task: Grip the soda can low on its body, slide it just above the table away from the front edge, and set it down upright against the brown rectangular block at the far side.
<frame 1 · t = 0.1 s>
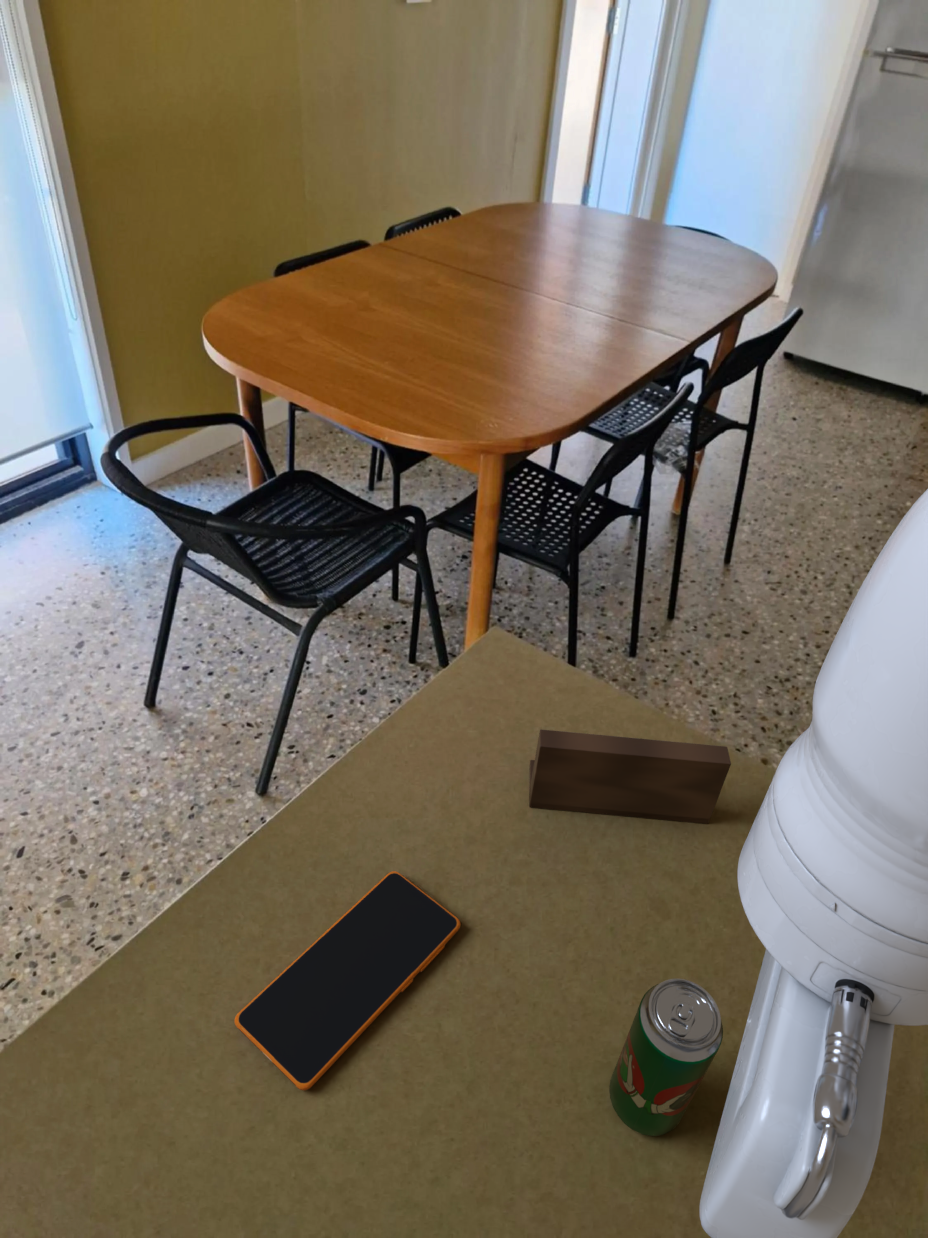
hand: (764, 1062, 40), 23 cm above the counter, tool pointing down, fingers open, 8 cm apart
soda can: (644, 1100, 60), on the counter
brown rectangular block: (617, 807, 80), on the counter
smartphone: (353, 975, 66), on the counter
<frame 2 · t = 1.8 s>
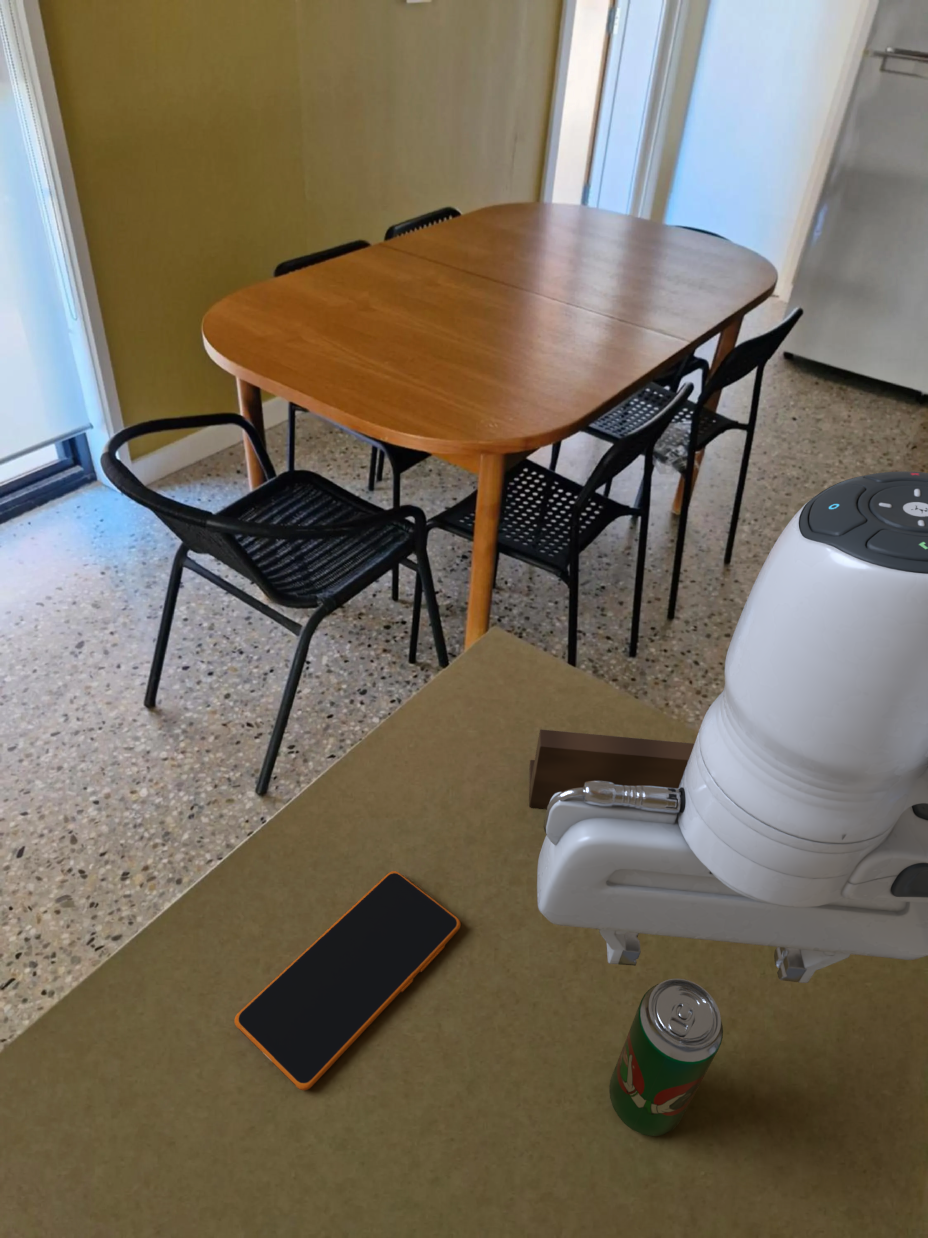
hand: (704, 961, 49), 18 cm above the counter, tool pointing down, fingers open, 8 cm apart
nothing on the counter moved.
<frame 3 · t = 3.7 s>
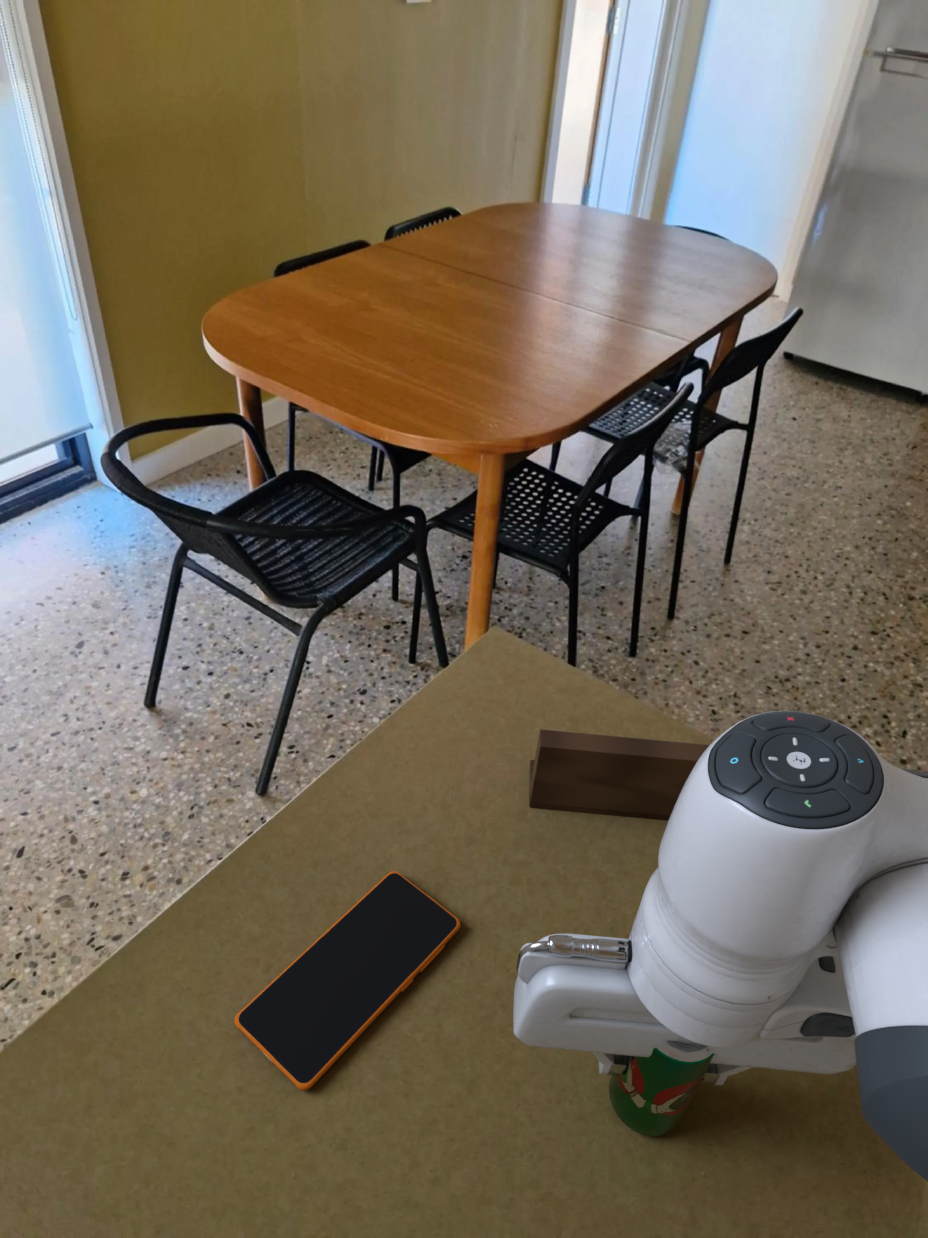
hand: (659, 1068, 57), 5 cm above the counter, tool pointing down, fingers closed on soda can, 5 cm apart
soda can: (644, 1101, 60), on the counter, touching gripper
everything else where it was.
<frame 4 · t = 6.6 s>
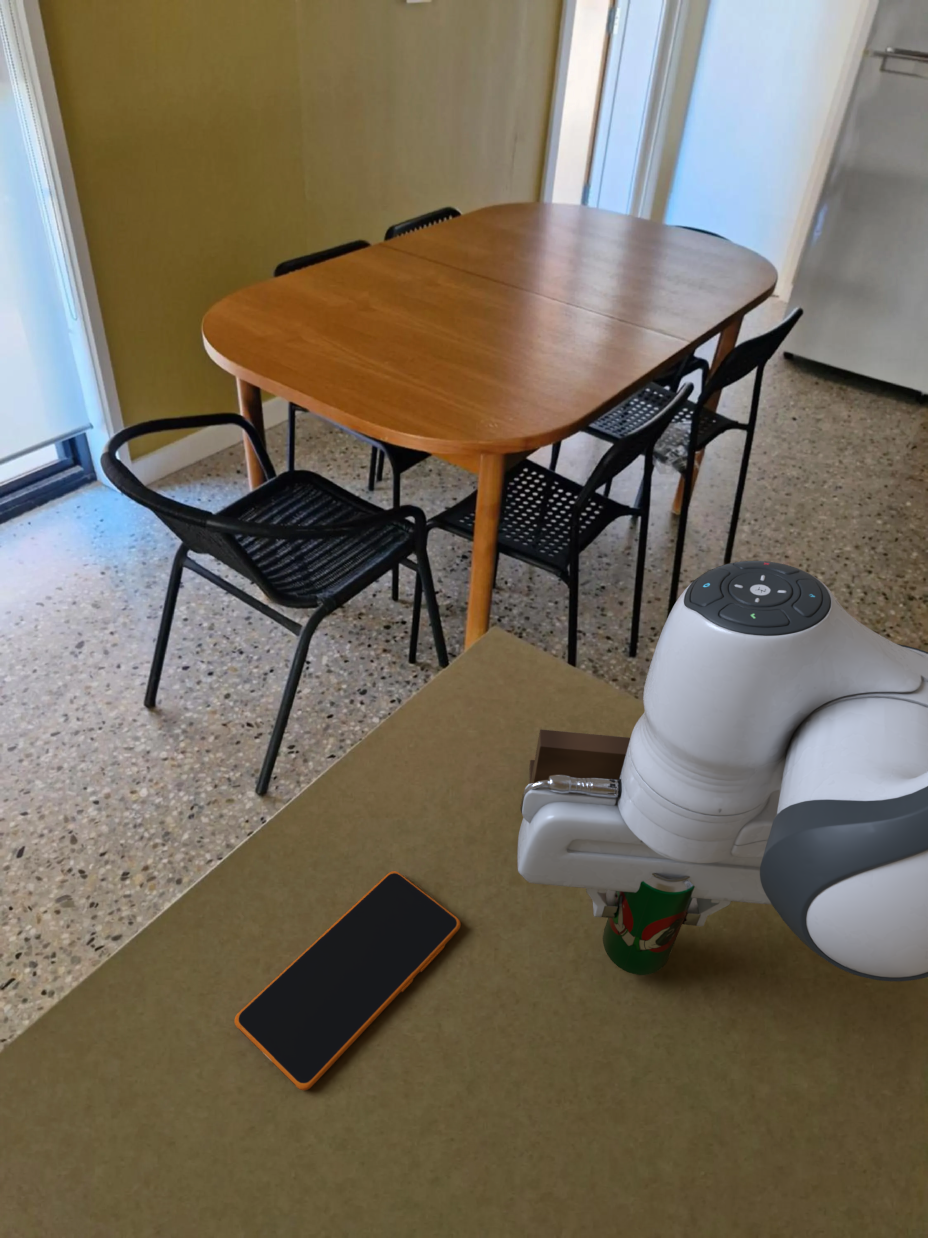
hand: (647, 913, 64), 6 cm above the counter, tool pointing down, fingers closed on soda can, 5 cm apart
soda can: (634, 949, 68), point 1 cm above the counter, touching gripper
everything else where it was.
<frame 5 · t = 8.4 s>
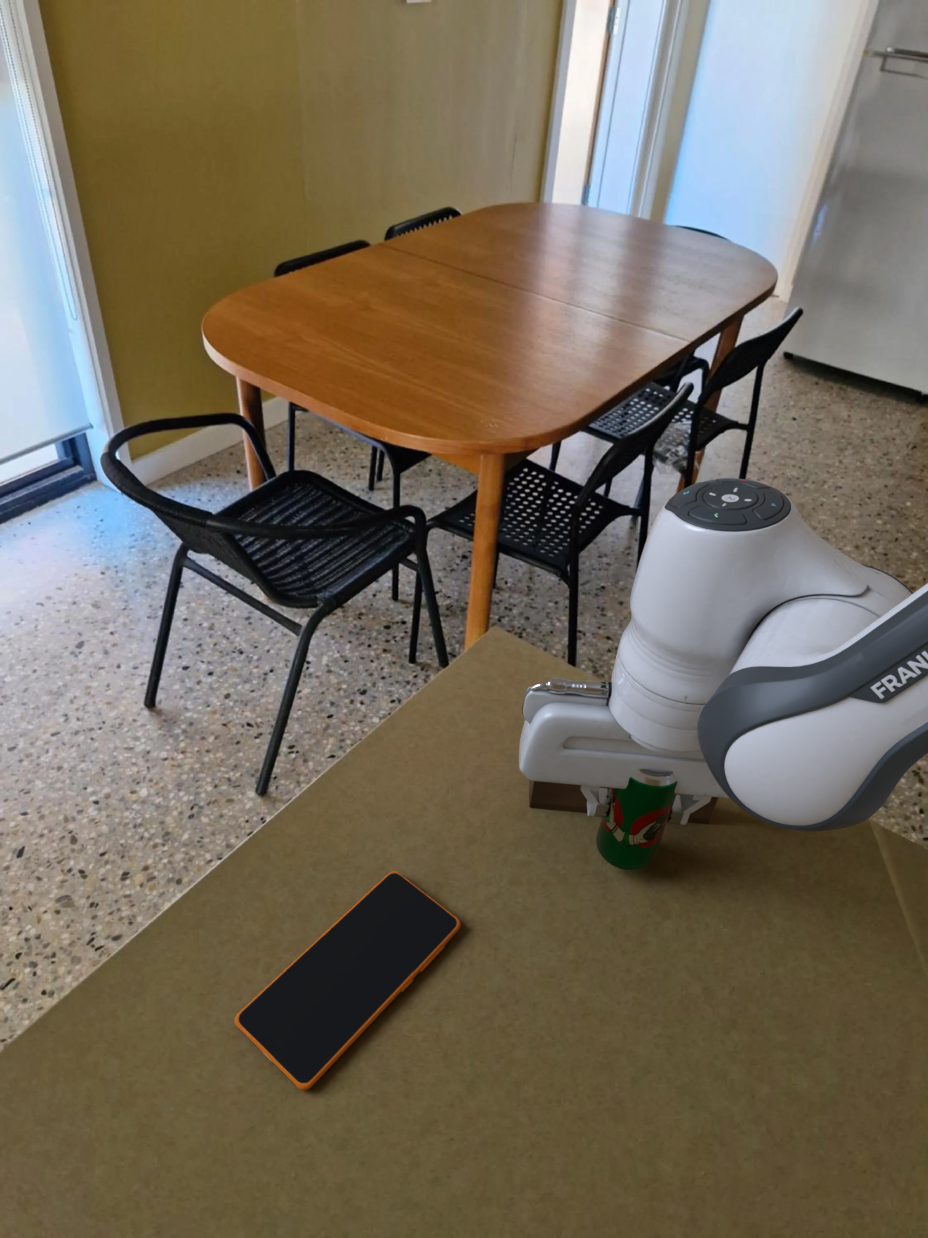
hand: (636, 814, 71), 6 cm above the counter, tool pointing down, fingers closed on soda can, 5 cm apart
soda can: (624, 850, 74), point 1 cm above the counter, touching gripper
everything else where it was.
when the fingers open (5 cm above the counter, at t = 9.8 s): soda can stays where it is, on the counter.
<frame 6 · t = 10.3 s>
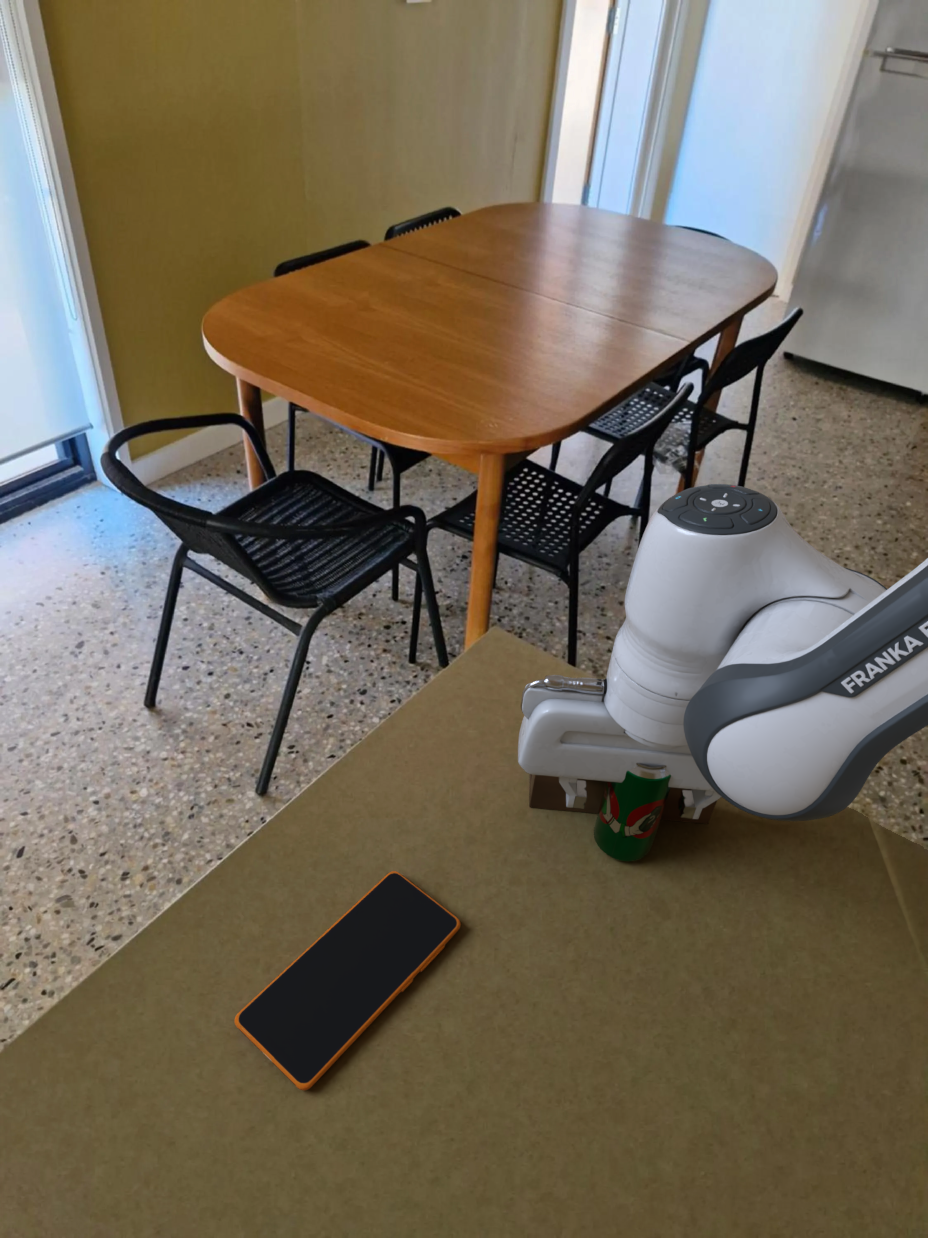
hand: (631, 807, 74), 5 cm above the counter, tool pointing down, fingers open, 8 cm apart
soda can: (621, 842, 77), on the counter
everything else where it was.
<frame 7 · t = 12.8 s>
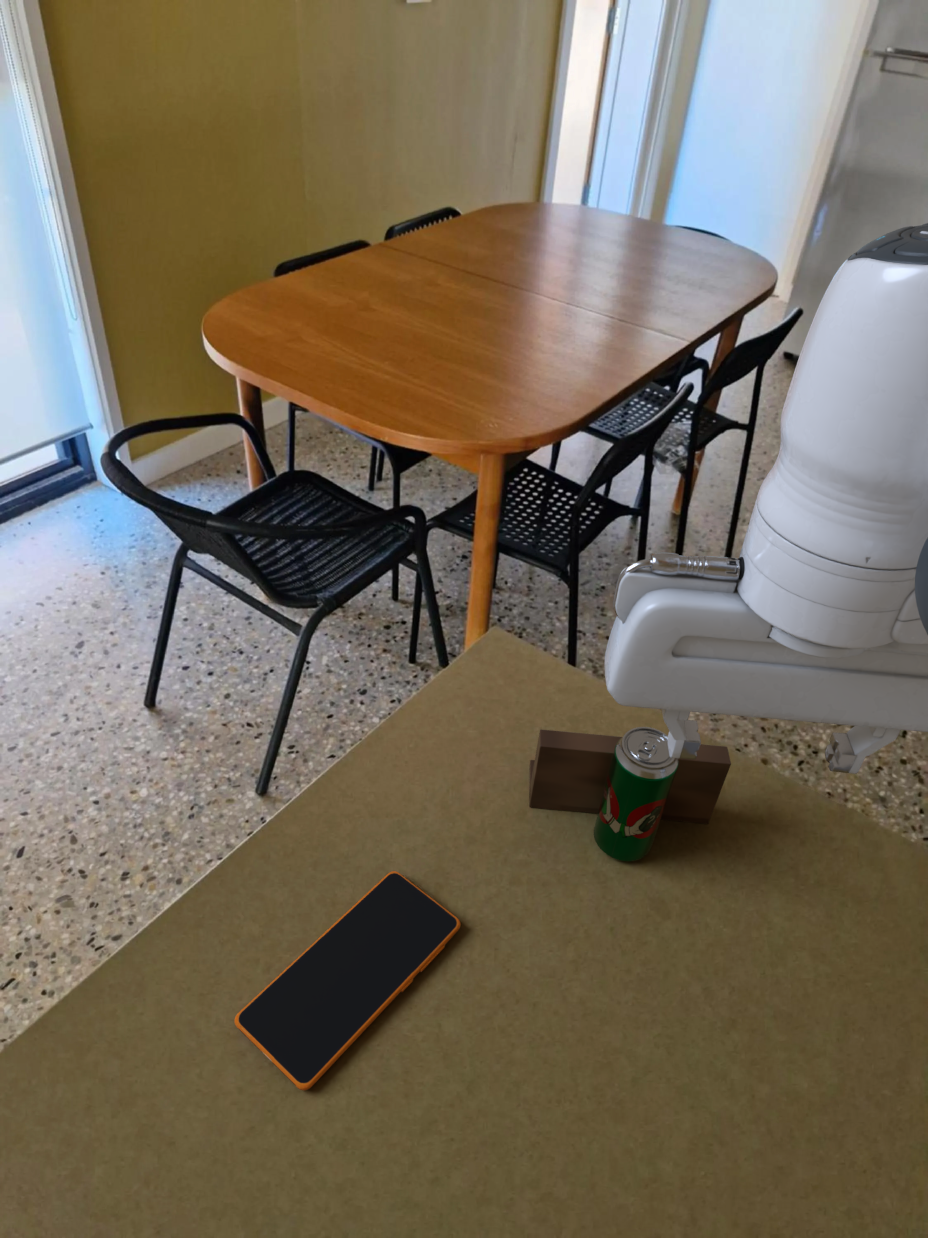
hand: (759, 758, 53), 24 cm above the counter, tool pointing down, fingers open, 8 cm apart
nothing on the counter moved.
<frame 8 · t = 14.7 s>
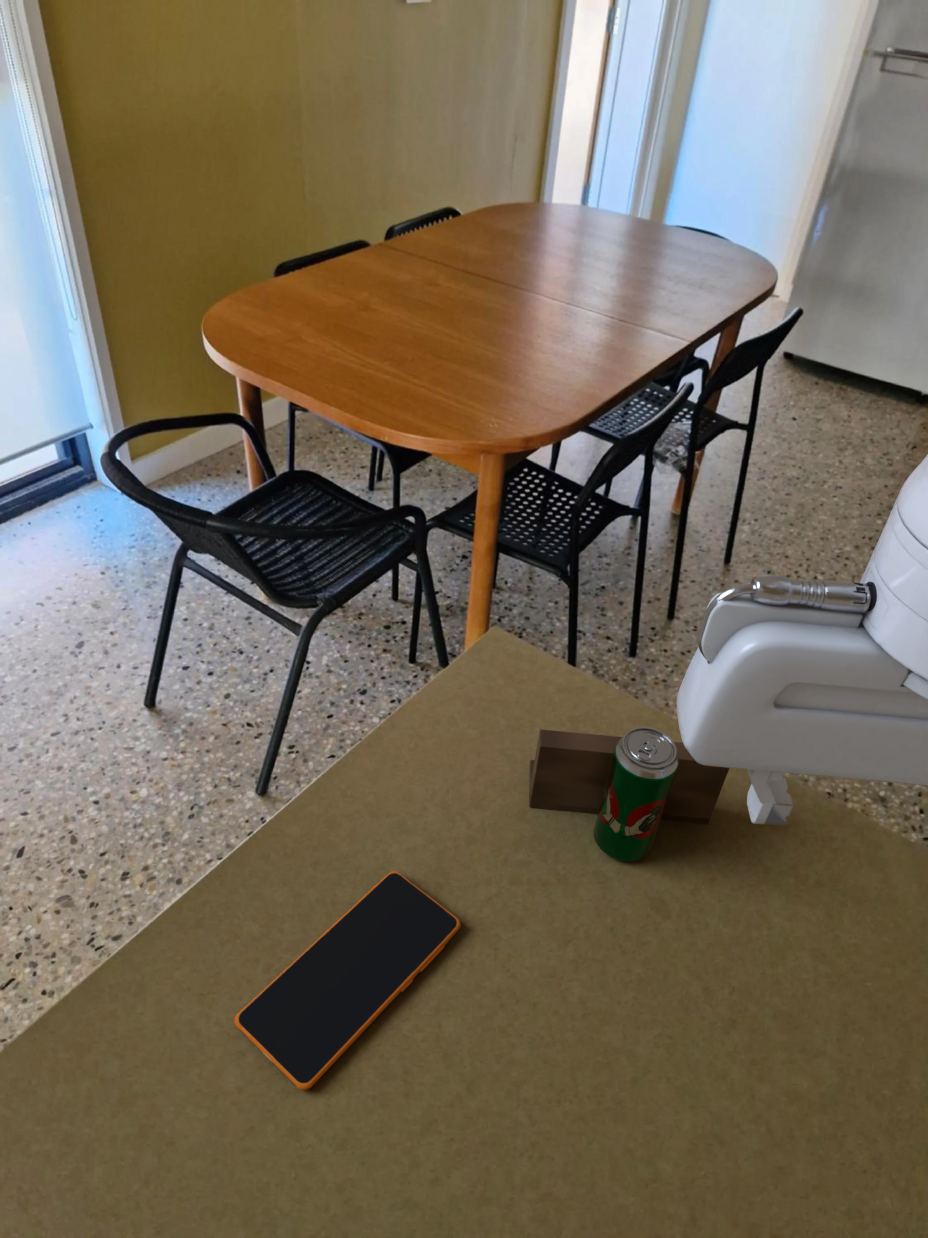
hand: (861, 823, 43), 29 cm above the counter, tool pointing down, fingers open, 8 cm apart
nothing on the counter moved.
at the end: soda can inside the target area on the brown rectangular block (0.6 cm from its centre), point 0.0 cm above the brown rectangular block's base; soda can tilted 0°; the gripper is holding nothing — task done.
